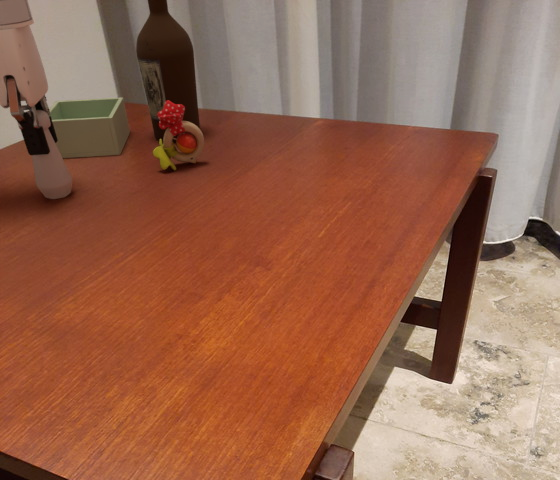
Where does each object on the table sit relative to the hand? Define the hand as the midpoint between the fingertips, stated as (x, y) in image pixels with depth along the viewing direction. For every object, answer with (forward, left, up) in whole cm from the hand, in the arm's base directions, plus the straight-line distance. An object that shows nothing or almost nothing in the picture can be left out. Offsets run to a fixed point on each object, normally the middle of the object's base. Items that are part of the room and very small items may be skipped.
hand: (43, 147), depth 88 cm
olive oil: (+18, +27, -8) cm, 33 cm away
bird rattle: (+20, +10, -8) cm, 24 cm away
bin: (+1, +24, -8) cm, 25 cm away
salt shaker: (0, 0, -8) cm, 8 cm away
